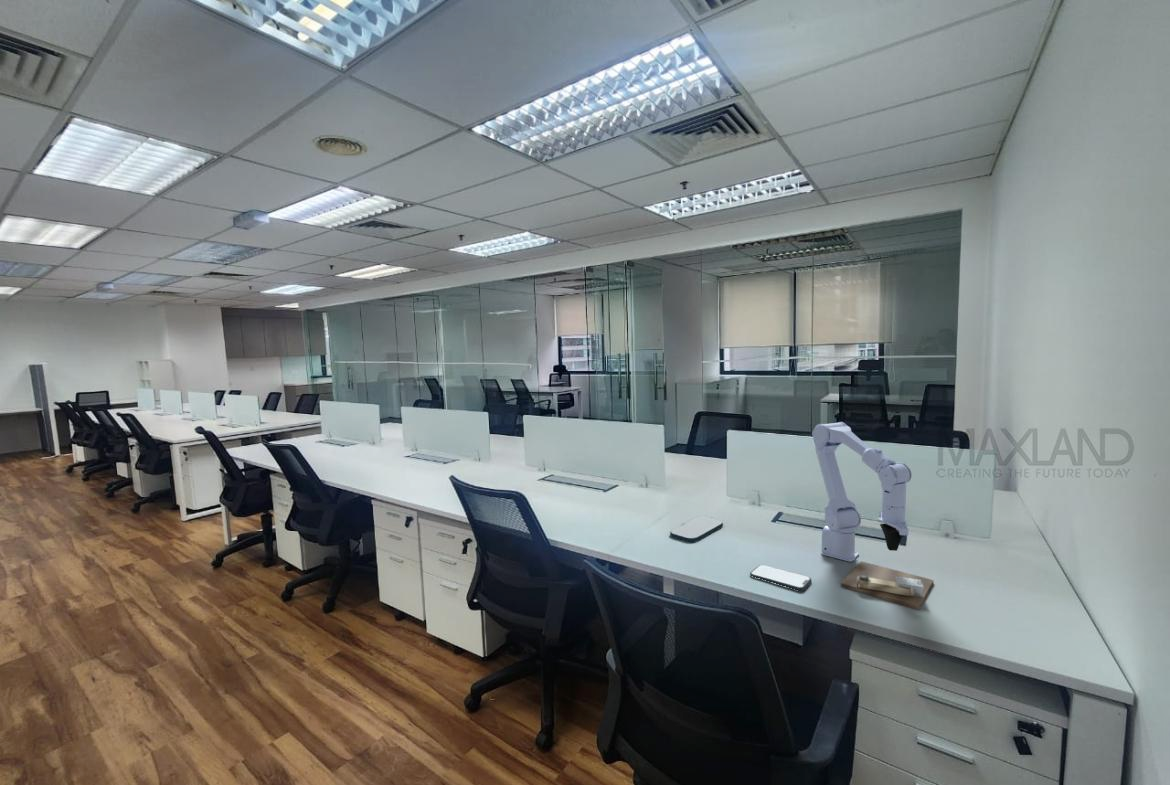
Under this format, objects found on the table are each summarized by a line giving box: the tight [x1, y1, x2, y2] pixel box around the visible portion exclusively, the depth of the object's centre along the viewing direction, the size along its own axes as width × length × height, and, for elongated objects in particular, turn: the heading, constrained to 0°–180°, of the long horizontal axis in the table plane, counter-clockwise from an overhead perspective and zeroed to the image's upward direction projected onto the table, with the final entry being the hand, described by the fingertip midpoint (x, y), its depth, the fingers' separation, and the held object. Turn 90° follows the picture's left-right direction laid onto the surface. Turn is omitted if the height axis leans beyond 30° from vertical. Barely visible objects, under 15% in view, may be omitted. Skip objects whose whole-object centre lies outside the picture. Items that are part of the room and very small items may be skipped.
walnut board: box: [840, 560, 934, 611], centre depth 141 cm, size 19×19×1 cm
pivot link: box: [857, 575, 911, 596], centre depth 137 cm, size 13×4×3 cm, turn 62°
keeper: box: [896, 576, 924, 598], centre depth 134 cm, size 6×4×4 cm
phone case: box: [749, 564, 813, 592], centre depth 147 cm, size 9×2×16 cm
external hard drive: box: [669, 515, 724, 543], centre depth 187 cm, size 24×12×2 cm, turn 135°
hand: (892, 549), depth 143 cm, fingers closed
